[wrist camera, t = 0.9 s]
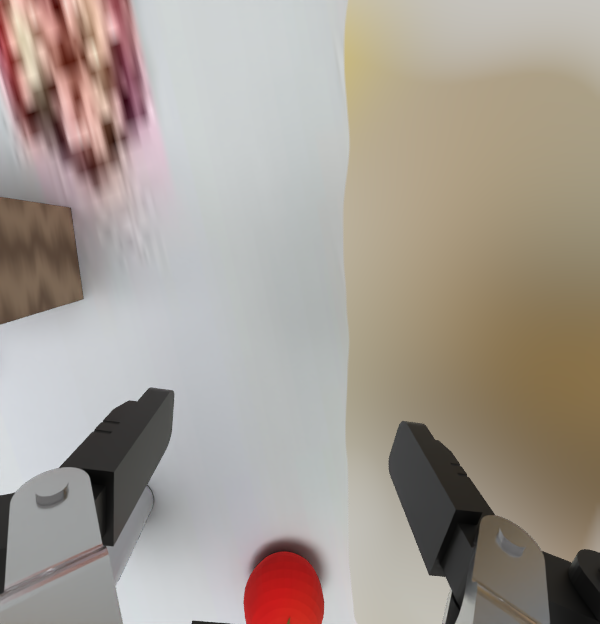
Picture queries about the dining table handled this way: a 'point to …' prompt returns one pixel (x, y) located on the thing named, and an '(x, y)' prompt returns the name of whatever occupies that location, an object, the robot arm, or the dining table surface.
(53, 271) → the pedestal
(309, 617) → the tomato
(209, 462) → the dining table surface
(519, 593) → the robot arm
